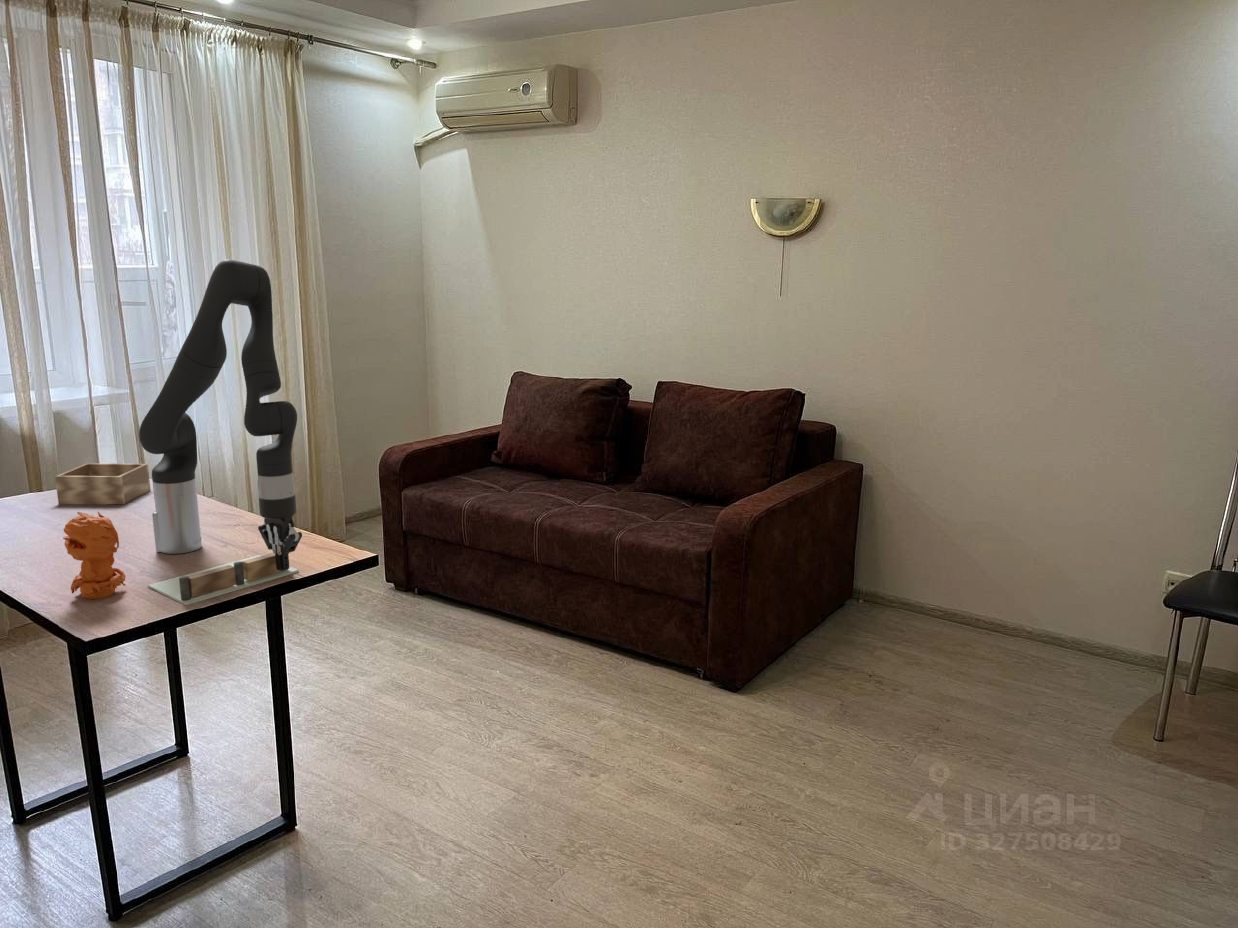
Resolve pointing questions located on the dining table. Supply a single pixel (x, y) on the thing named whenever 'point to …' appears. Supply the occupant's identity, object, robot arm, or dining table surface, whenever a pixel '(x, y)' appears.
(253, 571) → the rail
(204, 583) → the fence fixed
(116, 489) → the toy crate
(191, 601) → the card
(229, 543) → the dining table surface
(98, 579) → the toy dinosaur
